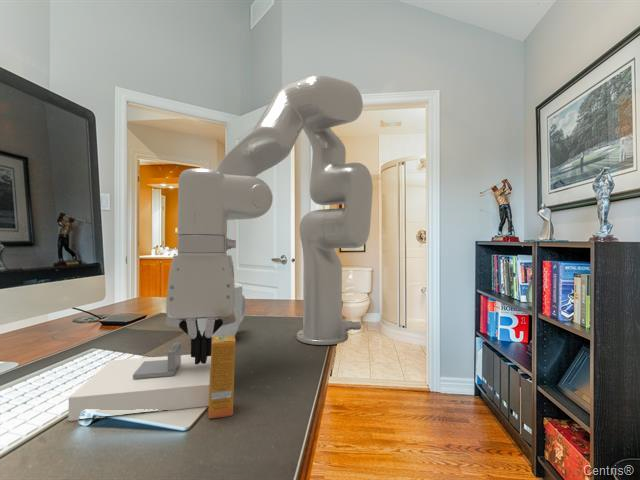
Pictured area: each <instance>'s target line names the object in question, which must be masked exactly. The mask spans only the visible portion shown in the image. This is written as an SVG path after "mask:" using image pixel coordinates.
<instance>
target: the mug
mask: <svg viewBox="0 0 640 480" xmlns="http://www.w3.org/2000/svg"><path fill="white" fill-rule="evenodd" d="M234 284H235V305H234V311H235V315H236V321H235V322H234V323H230V324H227V325H223V326H221V327H220V328H219V329H218V330H217V331H216V332H215V333H214V334H213V335H212V338H213V336H220V335H232V336H235V337H236V334H237V332H238V330H239V327H240V324H241V323H242V321H243V320H244V318H245V316H246V312H247V299H246V298H245V296H244V295H243V285H242V284H240V283H235V282H234ZM216 319H217V318H216ZM197 321H198V328H199V331H200V334H201V335H202V336H203V333H204V331H205V329H206V323H207V318H203V319H197Z"/></svg>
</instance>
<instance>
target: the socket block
mask: <svg viewBox="0 0 640 480" xmlns="http://www.w3.org/2000/svg"><path fill="white" fill-rule="evenodd" d="M157 360H168V355H166V356H153V357H137V358H126V359H125V358H122V359H113V360H112V359H111V360H110V361H108V362H107V364H105V365H104V366H103V367H102V368H100V370H99V371H97V372H96V373H95V374H94V375H93V376H92V377H91V378H89V379H88V380H87V381H86V382H85V383H84V384H83V385H82V386H80V387H79V388H78V389H77V390H76V391H75V392H73V393H72V394H71V395H70V396H69V397H68V412H67V413H68V415H67V417H68V418H67V420H68V422H73V421H75V422H76V421H80V420H79V416H80V413H81V411H83V410H85V409H100V410H134V409H135V410H136V409H144V410H145V409H148V410H149V409H153V410H155V409H158V410H168V411H175V410H184V409H185V410H186V409H194V408H203V407H204V408H205V407H209V383H210V367H211V356H207V361H206V364H202V363H201V361H200V363H199V364H195V357H191V354H181V363H180V365H179V367H178V369H177V371H176V373H175V375H173V376H161V377H150V378H138V379H133V374H134V373H135V372H136V371H137V369H138V368H139V367H140V366H141V365H142V363H143V362H144V361H157ZM103 418H104V417H99V416H96V417H95V418H94V419H103Z"/></svg>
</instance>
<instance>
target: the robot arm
mask: <svg viewBox="0 0 640 480" xmlns="http://www.w3.org/2000/svg"><path fill="white" fill-rule="evenodd" d="M363 102H364V101H363V98H362V95H361V92H360V90H359V89H358V88H357V86H355V85H354V84H353V83H351V82H350V81H346V80H343V79H338V78H336V77H335V78H334V77H331V76H327V75H326V76H325V75H318V74H316V75H311V76H308V77H306V78H303V79H300V80H297V81H295V82H292V83H289V84H286V85H285V86H282V87H281V88H280V89H278V90H277V91H276V92H275V93H274V95H273V96H272V99H271V100H270V101H269V103H268V105H267V107H266V108H265V110H264V111H263V113H262V115H261V117H260V118H259V120H258V121H257V122H256V124H255V126H254V128H253V129H252V130H251V132H250V133H248V134H247V135H246V136H245V137H244V138H242V140H240V141H239V143H237V145H236V146H234V147H233V148H232V149H231V150H230V151H229V152H228V153H227V154H226V155H224V156H223V157H222V159H220V161H219V162H218V163H217V164H216V166H215V167H214V168H213V169H211V168H203V167H202V168H201V167H199V168H198V167H195V168H188V169H184V170H183V171H181V173H180V174H179V176H178V182H177V183H178V185H177V187H178V188H177V189H178V191H177V193H178V196H177V197H178V198H177V200H178V201H177V253H176V255H172V259H171V263H170V268H169V274H168V283H167V291H166V304H165V305H166V307H165V308H166V317H165V321H164V325H165V326H167V327H172V328H175V329H176V328H179V329H180V330H182V331H183V332H184V333H185V334H186V335H187V336H188V338H189V339H190V355H191V357H195V364H199V363H200V361H201V363H202V364H206V361H207V356H211V351H212V335H213V334H214V333H215V332H216V331H217V330H218V329H219V328H220V327H221V326H223V325H227V324H230V323H234V322H235V321H236V315H235V311H234V305H235V284H236V283H235V271H234V268H235V267H234V262H233V257H232V255H229V254H228V253H227V252H228V251H229V250H231V249H236V248H237V247H236V246H237V245H236V244H237V241H236V239H231V238H230V239H229V238H228V221H231V220H232V221H234V220H251V219H257V218H260V217H261V216H264V215H265V214H267V212H268V211H270V209H271V207H272V205H273V199H274V198H273V193H272V189H271V188H270V186H269V184H267V182H265V181H264V180H262V179H261V178H259V177H257V176H259V175H261V174H262V173H263V172H266V171H267V170H269V169H271V168H273V167H275V166H276V165H278V164H279V163H281V162H282V161H284V160H285V159H286V158H287V157H289V156H290V154H291V152H292V150H293V148H294V146H295V144H296V141H297V140H298V138H299V136H300V134H301V132H302V130H303V131H304V133H305V135H306V136H307V139H308V141H309V143H310V146H311V148H312V159H311V168H310V169H311V171H310V180H309V196H310V199H311V200H312V201H313V203H315V204H316V205H320V206H336V205H337V206H338V205H345V207H342V208H341V207H340V208H325V209H321V208H320V209H317V210H316V209H315V210H312V211H309V212H307V213H306V214H305V215H303V217H302V218H301V219H300V223H299V228H298V229H299V238H300V243H301V248H302V256H303V257H302V259H303V278H302V279H303V282H302V283H303V286H302V287H303V290H302V291H303V298H302V299H303V301H302V303H303V304H302V306H303V310H302V311H303V313H302V316H303V319H302V320H303V321H302V324H303V325H302V326H303V327H302V329H301V330H299V331H297V332H296V339H297V340H298V341H299V342H301V343H304V344H308V345H313V346H315V345H316V346H332V345H339V344H342V343H344V342H346V341H347V340H348V339H349V333H348V332H349V330H354V331H357V330H361V329H362V323H361V322H360V321H353V320H345V319H344V318H343V290H342V289H343V267H342V265H343V264H342V261H341V259H340V257H339V255H338V254H337V253H338V252H336V250H335V249H359V248H361V247H363V246H364V245H366V243H367V241H369V237H370V231H371V220H372V218H371V217H372V205H373V192H374V191H373V189H374V188H373V179H372V174H371V172H370V170H369V169H368V166H366V165H365V164H363V163H360V162H348V163H346V159H347V157H346V155H347V152H346V147H345V145H344V143H343V141H342V140H341V138H340V137H339V136H338V135H337V134H336V133H335V132H334V131H333V129H332V128H334V127H338V126H341V125H346V124H349V123H353V122H355V121H357V120H358V119H359V118H360V116H361V114H362V112H363V110H364V109H363V108H364V105H363V104H364V103H363ZM227 254H228V255H227ZM234 283H235V284H234ZM203 318H207V323H206V329H205V331H204V333H203V336H202V335H201V334H200V331H199V328H198V321H197V319H203ZM216 318H217V319H216Z"/></svg>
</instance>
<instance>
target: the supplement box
mask: <svg viewBox="0 0 640 480" xmlns="http://www.w3.org/2000/svg"><path fill="white" fill-rule="evenodd" d="M236 341H237V340H236V335H235V336H232V335H220V336H213V338H212V351H211V367H210V383H209V406H208V418H209V419H218V418H225V417H230V416H233V415H234V396H235V395H234V393H235V391H234V390H235V389H234V388H235V367H236V366H235V365H236V364H235V363H236V344H237V342H236Z"/></svg>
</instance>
